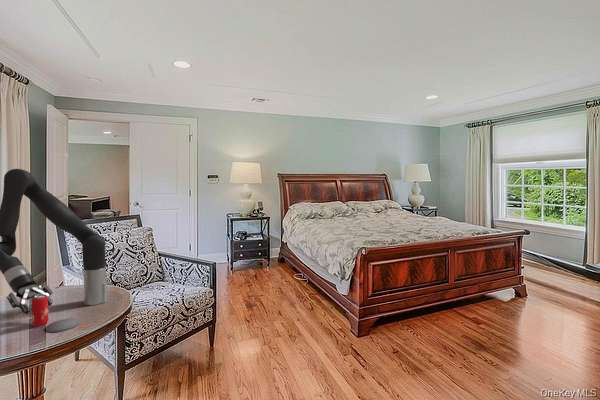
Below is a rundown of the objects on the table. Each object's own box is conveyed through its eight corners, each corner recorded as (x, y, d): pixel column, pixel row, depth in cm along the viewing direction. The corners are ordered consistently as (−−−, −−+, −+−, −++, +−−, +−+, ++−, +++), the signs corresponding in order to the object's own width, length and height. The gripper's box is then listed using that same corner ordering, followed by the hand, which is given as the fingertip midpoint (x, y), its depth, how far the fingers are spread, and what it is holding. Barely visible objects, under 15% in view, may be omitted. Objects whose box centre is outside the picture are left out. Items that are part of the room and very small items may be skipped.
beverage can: (38, 321, 132) (37, 294, 131) (51, 321, 132) (50, 294, 132) (29, 327, 127) (28, 298, 126) (42, 327, 127) (41, 298, 127)
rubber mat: (82, 318, 136) (82, 316, 136) (75, 329, 126) (75, 327, 126) (51, 322, 132) (51, 320, 131) (41, 334, 121) (41, 332, 121)
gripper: (3, 278, 124) (25, 310, 122) (41, 269, 138) (61, 297, 135) (-6, 289, 126) (15, 321, 123) (33, 279, 139) (52, 307, 137)
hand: (39, 308), depth 129 cm, fingers open, 8 cm apart
